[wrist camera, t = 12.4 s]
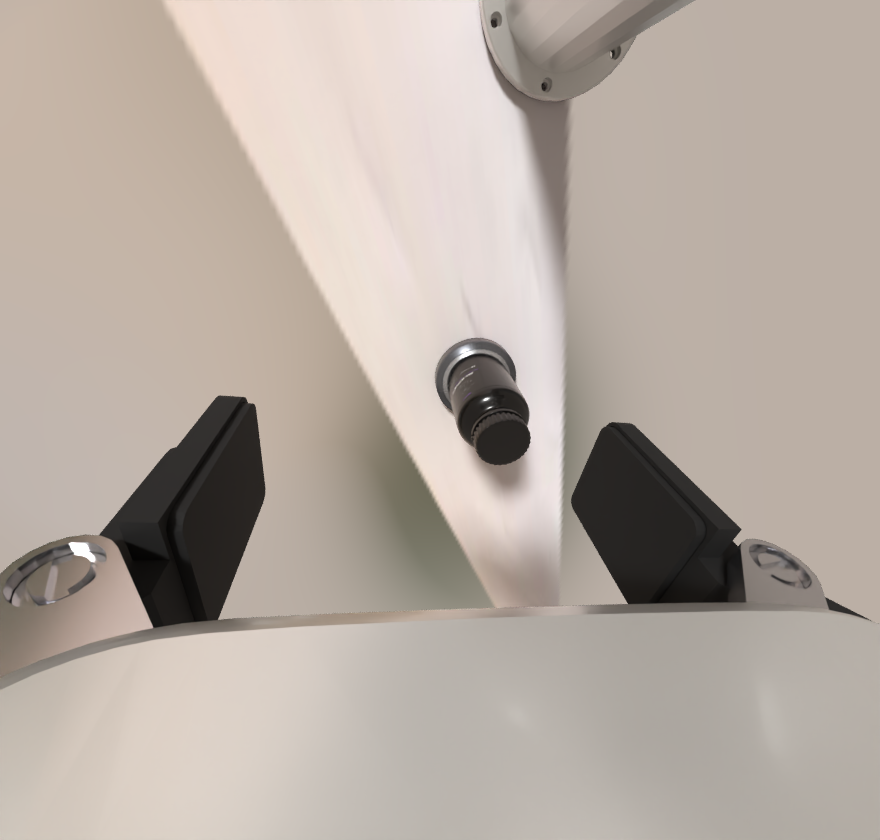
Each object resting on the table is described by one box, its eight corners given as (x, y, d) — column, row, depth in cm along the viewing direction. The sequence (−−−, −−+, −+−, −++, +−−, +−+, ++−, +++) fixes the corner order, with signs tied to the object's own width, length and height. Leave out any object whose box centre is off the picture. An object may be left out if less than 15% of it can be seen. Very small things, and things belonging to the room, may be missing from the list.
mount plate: (441, 333, 40) (443, 339, 39) (521, 342, 42) (525, 347, 40) (430, 407, 45) (431, 414, 43) (502, 412, 46) (505, 418, 45)
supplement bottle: (448, 350, 39) (469, 407, 29) (511, 352, 40) (552, 407, 30) (442, 406, 43) (460, 475, 33) (500, 407, 44) (534, 473, 34)
